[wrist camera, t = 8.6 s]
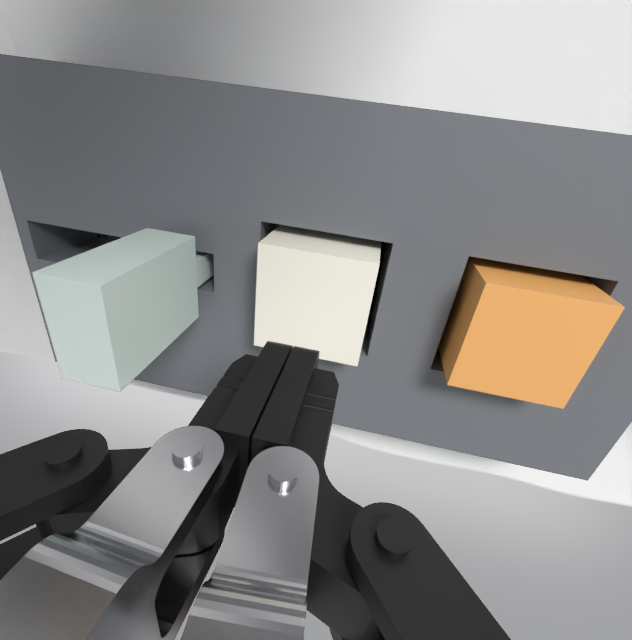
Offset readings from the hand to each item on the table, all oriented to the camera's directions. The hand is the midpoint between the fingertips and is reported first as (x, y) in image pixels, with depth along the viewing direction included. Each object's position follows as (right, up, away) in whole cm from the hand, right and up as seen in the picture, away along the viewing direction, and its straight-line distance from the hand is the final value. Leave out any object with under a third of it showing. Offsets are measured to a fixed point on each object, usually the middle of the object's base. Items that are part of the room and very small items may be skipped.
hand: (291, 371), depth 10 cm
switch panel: (+1, +4, +8) cm, 9 cm away
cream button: (+1, +4, +7) cm, 8 cm away
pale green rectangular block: (-4, +6, +9) cm, 11 cm away
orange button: (+9, +2, +6) cm, 11 cm away
